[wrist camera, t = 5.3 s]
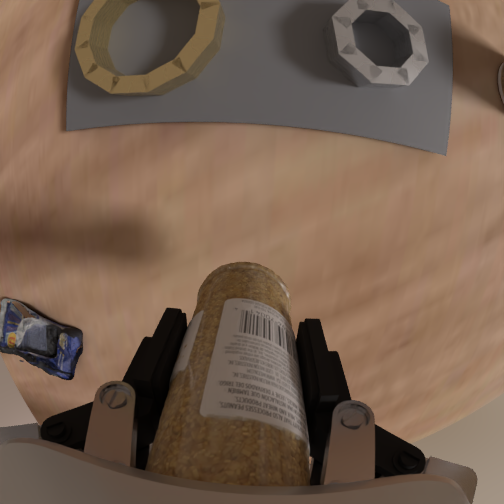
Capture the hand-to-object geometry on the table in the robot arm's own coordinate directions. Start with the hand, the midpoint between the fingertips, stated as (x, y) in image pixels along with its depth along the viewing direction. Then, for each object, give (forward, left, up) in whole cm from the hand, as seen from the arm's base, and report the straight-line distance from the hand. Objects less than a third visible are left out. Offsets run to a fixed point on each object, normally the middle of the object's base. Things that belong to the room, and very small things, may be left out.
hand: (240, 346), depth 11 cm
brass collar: (+13, -8, -9) cm, 18 cm away
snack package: (+12, +23, -11) cm, 28 cm away
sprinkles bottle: (0, 0, -4) cm, 4 cm away
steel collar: (+3, -15, -9) cm, 18 cm away
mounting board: (+8, -12, -11) cm, 18 cm away
